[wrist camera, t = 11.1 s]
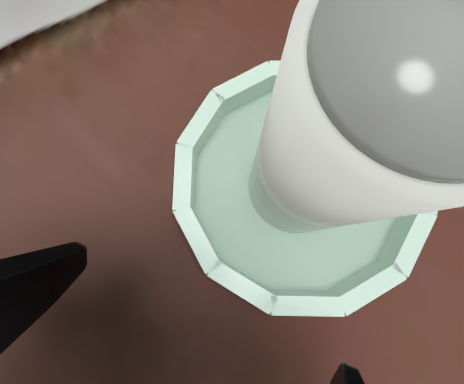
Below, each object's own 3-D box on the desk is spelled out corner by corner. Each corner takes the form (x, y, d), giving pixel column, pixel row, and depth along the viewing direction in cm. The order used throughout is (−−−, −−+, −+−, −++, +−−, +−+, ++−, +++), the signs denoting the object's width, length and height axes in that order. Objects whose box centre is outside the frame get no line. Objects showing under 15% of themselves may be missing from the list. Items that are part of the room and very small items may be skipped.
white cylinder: (282, 251, 18) (427, 271, 5) (230, 171, 19) (230, -1, 6) (360, 200, 18) (683, 90, 5) (306, 126, 19) (468, -129, 6)
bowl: (341, 352, 18) (363, 373, 15) (139, 226, 19) (122, 223, 16) (439, 151, 20) (474, 136, 17) (252, 52, 21) (256, 21, 18)
